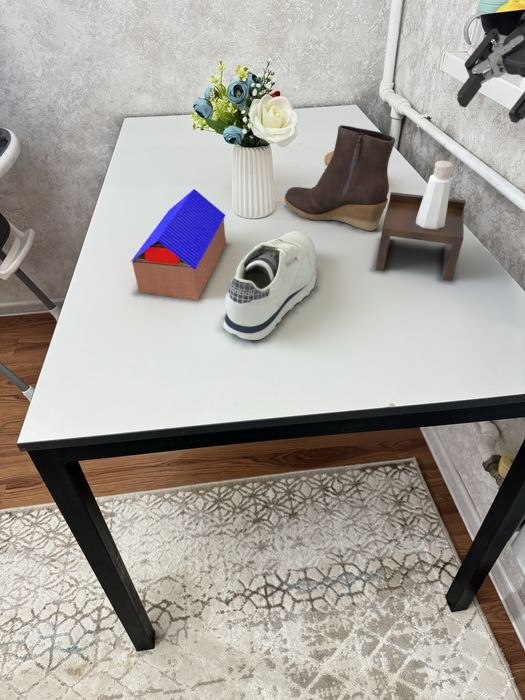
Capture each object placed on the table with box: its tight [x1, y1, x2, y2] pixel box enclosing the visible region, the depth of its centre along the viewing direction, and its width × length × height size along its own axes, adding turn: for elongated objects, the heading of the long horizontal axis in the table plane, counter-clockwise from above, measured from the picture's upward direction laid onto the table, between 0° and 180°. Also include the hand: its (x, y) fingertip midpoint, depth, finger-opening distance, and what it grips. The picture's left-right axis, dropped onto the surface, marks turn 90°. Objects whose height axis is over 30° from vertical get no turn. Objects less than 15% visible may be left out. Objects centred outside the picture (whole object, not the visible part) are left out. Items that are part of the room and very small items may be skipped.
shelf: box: [375, 191, 467, 282], centre depth 94 cm, size 14×12×10 cm
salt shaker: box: [416, 160, 453, 230], centre depth 86 cm, size 5×5×11 cm
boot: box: [284, 124, 396, 232], centre depth 104 cm, size 9×24×20 cm, turn 58°
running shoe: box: [222, 230, 318, 341], centre depth 85 cm, size 11×29×12 cm, turn 158°
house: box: [130, 188, 227, 301], centre depth 92 cm, size 12×20×12 cm, turn 168°
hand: (485, 110), depth 67 cm, fingers open, 8 cm apart
